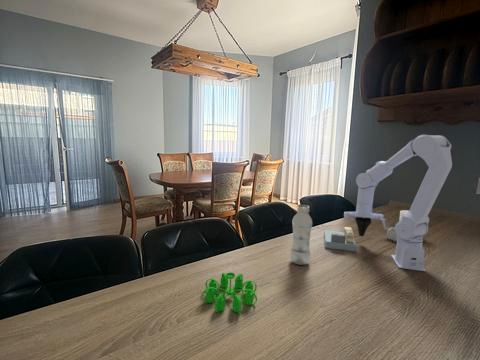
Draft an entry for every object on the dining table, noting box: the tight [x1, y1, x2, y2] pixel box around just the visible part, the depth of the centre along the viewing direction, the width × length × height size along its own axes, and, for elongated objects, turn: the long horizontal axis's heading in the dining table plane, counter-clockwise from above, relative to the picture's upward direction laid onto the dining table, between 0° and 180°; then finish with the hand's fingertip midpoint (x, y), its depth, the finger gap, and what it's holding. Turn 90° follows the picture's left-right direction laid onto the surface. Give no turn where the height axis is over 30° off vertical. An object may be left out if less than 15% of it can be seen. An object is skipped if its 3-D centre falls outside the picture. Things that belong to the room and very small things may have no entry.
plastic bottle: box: [289, 204, 313, 266], centre depth 88 cm, size 6×7×20 cm
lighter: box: [381, 218, 398, 242], centre depth 113 cm, size 7×2×8 cm, turn 31°
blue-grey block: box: [323, 229, 357, 252], centre depth 107 cm, size 13×11×6 cm
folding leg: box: [343, 226, 355, 243], centre depth 105 cm, size 9×2×3 cm, turn 165°
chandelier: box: [201, 272, 258, 314], centre depth 69 cm, size 15×15×7 cm
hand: (361, 235), depth 107 cm, fingers closed
